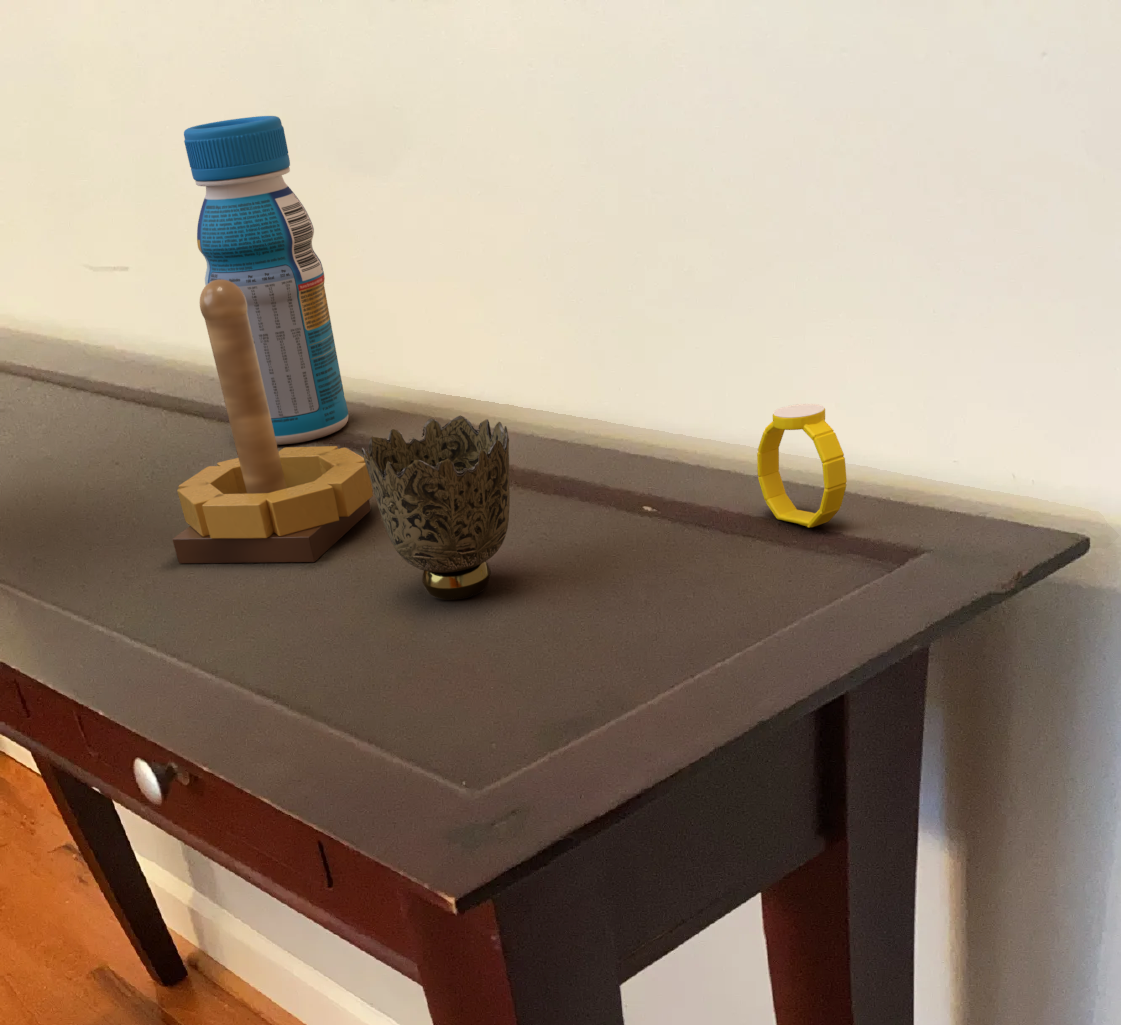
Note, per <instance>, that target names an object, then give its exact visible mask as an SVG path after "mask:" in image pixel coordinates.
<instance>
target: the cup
mask: <svg viewBox="0 0 1121 1025" xmlns="http://www.w3.org/2000/svg"><path fill="white" fill-rule="evenodd" d="M421 438H423V439H417V438H416V437H414V436H413V437H412V438H410V439H408V441H410V442H407V441H406V440H405V439H404V437H403V434H402V431H400V430H397V429H395V428H391V430H390V431H389V433H388V437H387V438H385V437H380V436H371V437H370V438H369V443H368V449H365V448H364V447H363V446H362V447H361V453H362V457H363V458H364V460H365V464H366V467H367V470H368V474H369V477H370V480H371V484H372V489H373V495H374V497H375V500H376V503H377V507H378V510H379V513H380V516H381V519H382V522H383V526H384V528H385V531H386V533H387V535H388V538H389V540H390V542H391V544H392V546H393V548H394V550H395V551H396V552H397V554H398V555H399V556H400V558H402V559H403V561H405V562H407V563H408V564H409V565H411V566H412V567H414V568H416V569H417V570H418V569H419V570H422V571H423V573H422V578H421V581H422V584H423V587H424V588H425V590H426V591H427V593H428V594H429V595H431V596H432V597H434V598H438V599H439V600H440V599H441V600H447V601H449V600H450V601H453V600H461V599H462V600H463V599H467V598H470V597H474V596H476V595H478V594H480V593H481V592H483V591H484V590H485V589H486V588H487V587H488V585H489V583H490V579H491V574H492V570H491V568H490V566H489V563H488V562H487V561H489V560H490V559H491V558H492V557H493V556H494V555H496V553H497V552H498V551H499V549H500V548H501V547H502V545H503V544H504V541H505V539H506V536H507V533H508V528H509V523H510V522H509V521H510V503H511V502H510V500H511V499H510V498H511V497H510V496H511V493H510V492H511V490H510V489H511V488H510V437H509V434H508V428H507V425H504V427H503V424H502V422H501V421H498V422H497V423H496V424H495V425H494V427H493V431H492V430H491V425H490V421H489V419H487V418H486V419H485V420H483V421H481V422H480V423H479V425H478V428H475V427H474V425H473V423H472V422H471V421H470V420H469V419H468V418H466V417H465V416H463V415H458V416H456V417H454V418H453V419H450V421H448V422H447V423H445V425H444V426H442V425H441V424H440V422H439V421H438V420H436V419H434V418H429V419H428V420H426V421H425V423H424V425H423V426H422V434H421Z"/></svg>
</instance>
